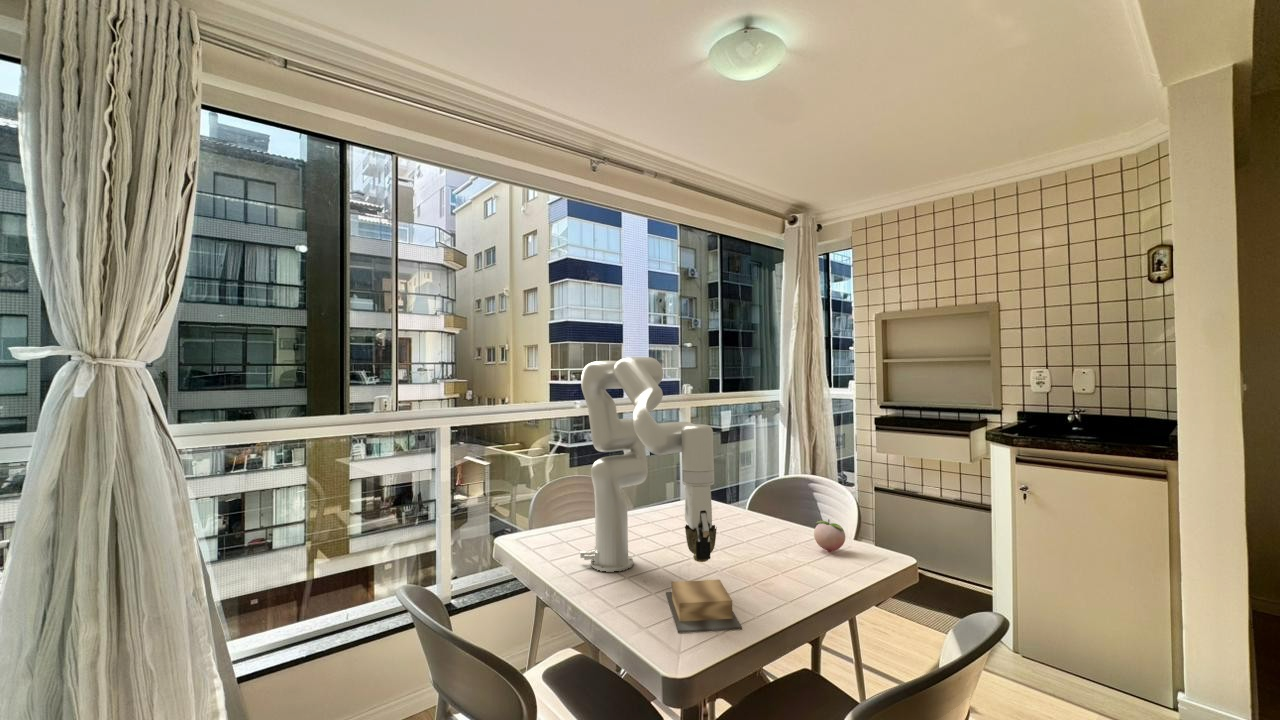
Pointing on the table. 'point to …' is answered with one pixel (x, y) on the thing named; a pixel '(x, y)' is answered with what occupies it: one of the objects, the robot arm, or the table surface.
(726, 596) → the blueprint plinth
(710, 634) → the table surface
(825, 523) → the decorative fruit
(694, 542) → the cup
